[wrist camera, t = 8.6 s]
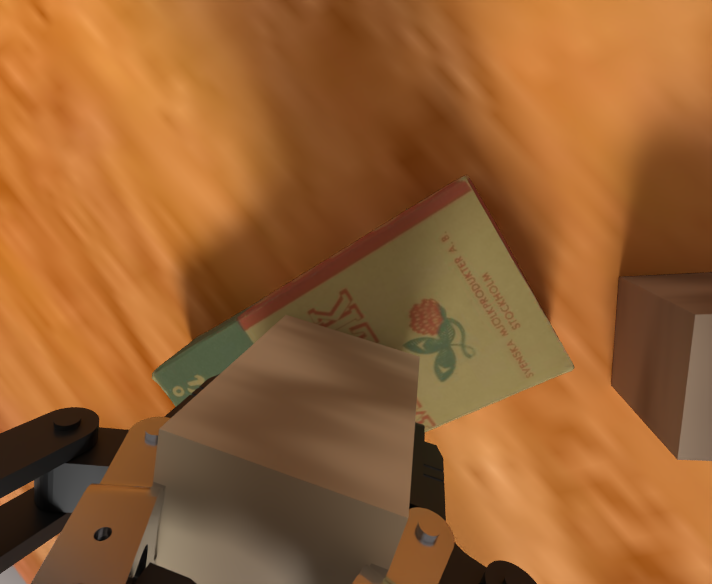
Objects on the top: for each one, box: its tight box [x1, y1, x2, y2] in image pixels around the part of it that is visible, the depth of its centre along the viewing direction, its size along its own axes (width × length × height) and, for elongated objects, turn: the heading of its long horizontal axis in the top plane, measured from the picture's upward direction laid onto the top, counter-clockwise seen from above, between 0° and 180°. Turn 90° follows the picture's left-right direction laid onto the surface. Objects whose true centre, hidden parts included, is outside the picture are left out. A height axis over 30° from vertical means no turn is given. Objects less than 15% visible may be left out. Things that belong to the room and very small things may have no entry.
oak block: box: [153, 315, 420, 584], centre depth 11 cm, size 5×5×7 cm
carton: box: [152, 175, 575, 432], centre depth 18 cm, size 8×16×4 cm, turn 123°
